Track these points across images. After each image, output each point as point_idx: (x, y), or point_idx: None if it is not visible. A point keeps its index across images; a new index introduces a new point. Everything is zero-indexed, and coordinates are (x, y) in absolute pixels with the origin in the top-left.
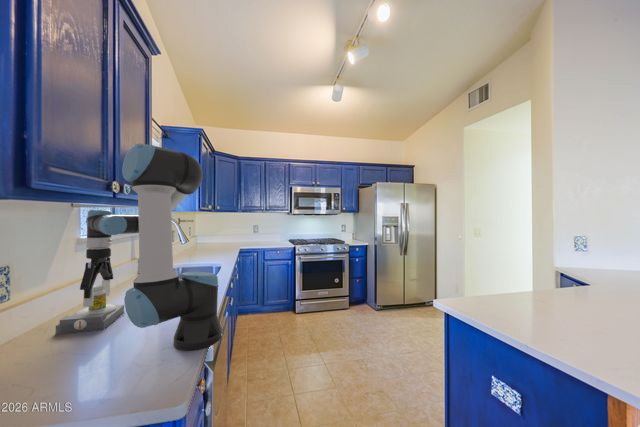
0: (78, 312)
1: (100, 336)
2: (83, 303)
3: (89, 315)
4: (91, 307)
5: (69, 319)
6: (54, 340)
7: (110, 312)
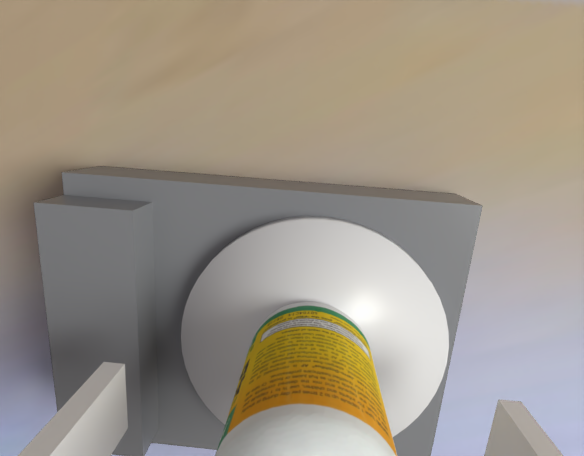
0: (281, 235)
1: (25, 405)
2: (83, 386)
3: None
4: (248, 354)
5: (43, 267)
6: (8, 205)
7: None
